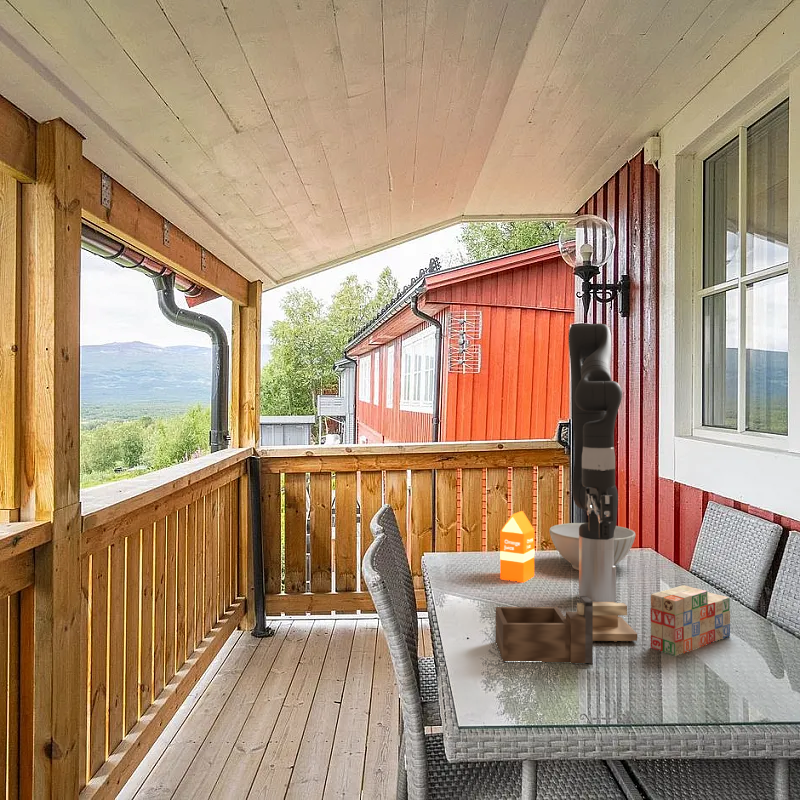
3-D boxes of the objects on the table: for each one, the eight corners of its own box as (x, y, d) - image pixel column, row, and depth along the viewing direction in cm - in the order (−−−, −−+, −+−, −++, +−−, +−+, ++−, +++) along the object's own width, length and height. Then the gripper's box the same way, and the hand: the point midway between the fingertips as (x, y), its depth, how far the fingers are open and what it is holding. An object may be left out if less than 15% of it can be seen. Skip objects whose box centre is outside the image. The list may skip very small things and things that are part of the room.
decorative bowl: (647, 579, 210) (647, 539, 210) (559, 578, 210) (559, 539, 210) (620, 558, 237) (620, 522, 237) (542, 557, 237) (542, 522, 237)
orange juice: (534, 576, 213) (534, 511, 213) (523, 582, 206) (523, 515, 206) (511, 572, 218) (511, 509, 217) (499, 579, 210) (499, 513, 210)
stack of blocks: (705, 629, 165) (705, 578, 165) (730, 637, 160) (730, 584, 160) (649, 648, 153) (650, 593, 153) (675, 657, 148) (675, 600, 148)
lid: (621, 627, 168) (621, 596, 168) (637, 645, 156) (637, 611, 156) (563, 626, 168) (563, 596, 168) (574, 644, 156) (575, 611, 156)
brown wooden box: (577, 642, 157) (577, 585, 157) (592, 664, 144) (592, 602, 144) (495, 642, 157) (495, 585, 157) (503, 664, 144) (503, 602, 144)
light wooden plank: (624, 612, 147) (624, 602, 147) (627, 615, 145) (627, 605, 145) (577, 612, 147) (577, 602, 147) (579, 615, 145) (579, 605, 145)
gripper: (574, 463, 169) (574, 529, 169) (590, 469, 155) (591, 542, 155) (605, 463, 169) (605, 529, 169) (624, 469, 155) (624, 542, 155)
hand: (598, 535), depth 162 cm, fingers open, 8 cm apart
